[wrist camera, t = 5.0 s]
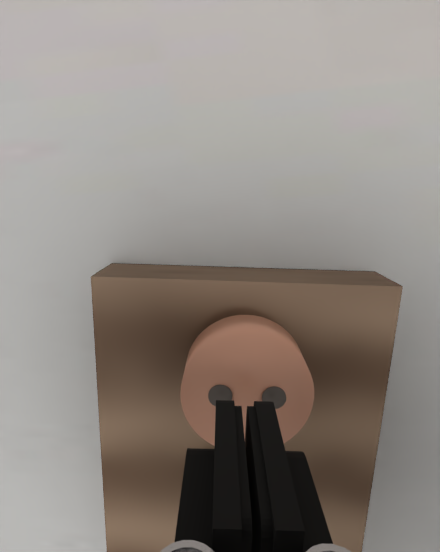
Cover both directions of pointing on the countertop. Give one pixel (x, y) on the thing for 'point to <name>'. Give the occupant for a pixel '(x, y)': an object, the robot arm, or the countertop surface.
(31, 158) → the countertop surface
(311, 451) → the button board
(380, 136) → the countertop surface
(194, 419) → the terracotta button
